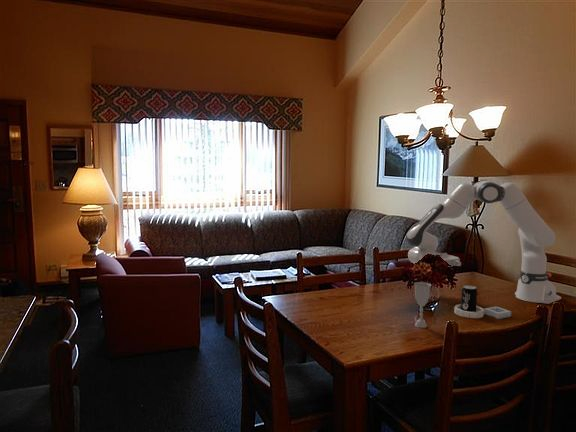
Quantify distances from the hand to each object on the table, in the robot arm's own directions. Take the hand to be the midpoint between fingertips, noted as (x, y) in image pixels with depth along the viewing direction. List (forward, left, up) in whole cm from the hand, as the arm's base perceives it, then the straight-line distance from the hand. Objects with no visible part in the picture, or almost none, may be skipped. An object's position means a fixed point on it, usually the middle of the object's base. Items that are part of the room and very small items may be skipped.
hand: (452, 265), depth 217 cm
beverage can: (+4, +14, -19) cm, 24 cm away
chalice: (+35, +18, -20) cm, 43 cm away
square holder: (-6, +22, -19) cm, 30 cm away
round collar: (+4, +15, -19) cm, 24 cm away
